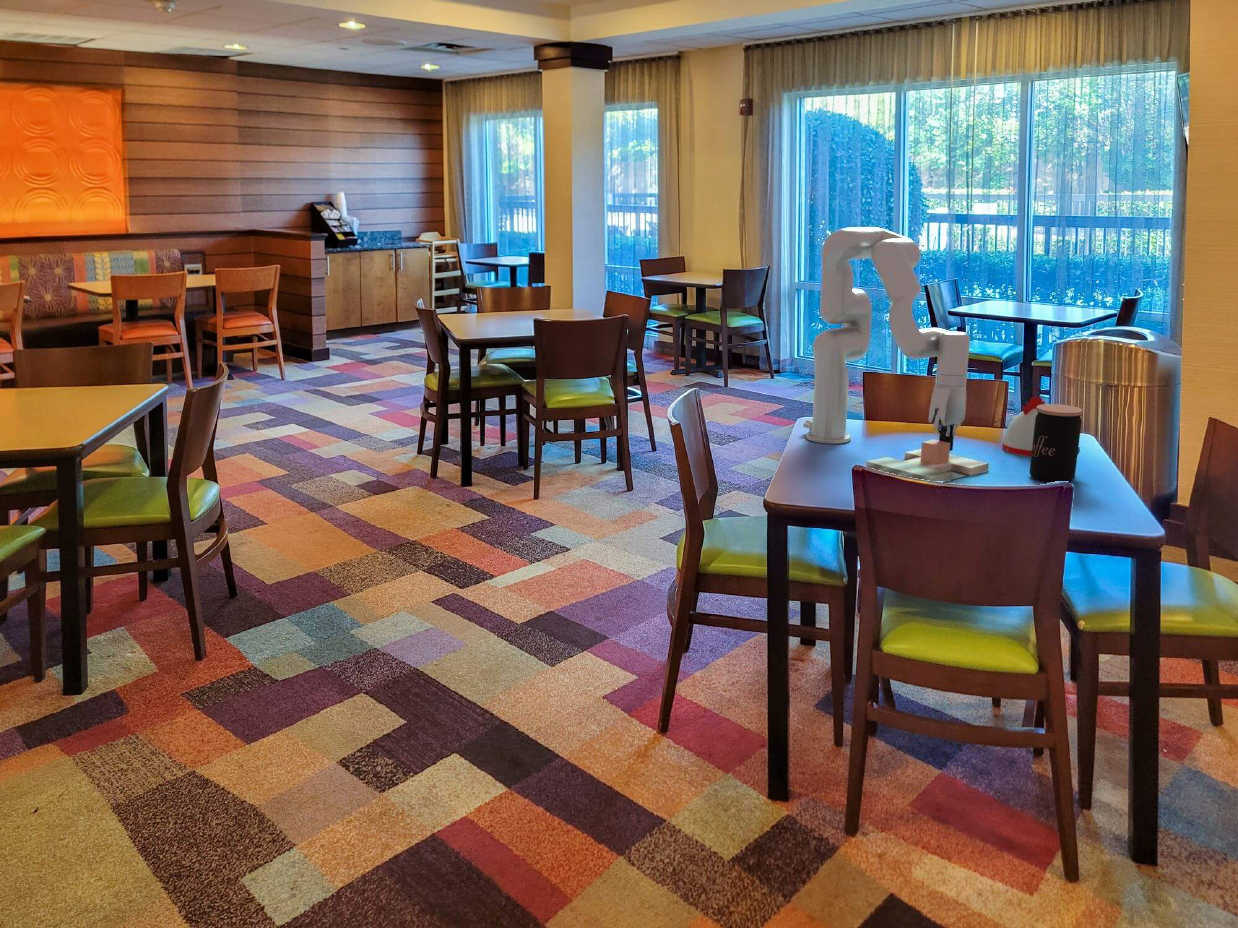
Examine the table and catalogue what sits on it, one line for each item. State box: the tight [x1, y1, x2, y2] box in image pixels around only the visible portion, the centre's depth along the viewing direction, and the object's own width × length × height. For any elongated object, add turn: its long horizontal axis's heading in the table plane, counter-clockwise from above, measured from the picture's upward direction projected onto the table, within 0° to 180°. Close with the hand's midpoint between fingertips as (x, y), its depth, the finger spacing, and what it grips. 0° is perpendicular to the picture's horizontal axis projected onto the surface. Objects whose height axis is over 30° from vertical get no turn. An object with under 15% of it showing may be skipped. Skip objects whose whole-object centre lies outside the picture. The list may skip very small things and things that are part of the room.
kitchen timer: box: [1001, 396, 1046, 457], centre depth 291 cm, size 14×14×15 cm
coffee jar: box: [1028, 403, 1084, 484], centre depth 261 cm, size 11×11×18 cm
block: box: [920, 439, 951, 465], centre depth 271 cm, size 5×5×5 cm
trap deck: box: [865, 448, 990, 482], centre depth 270 cm, size 20×24×2 cm
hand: (945, 450), depth 273 cm, fingers closed
